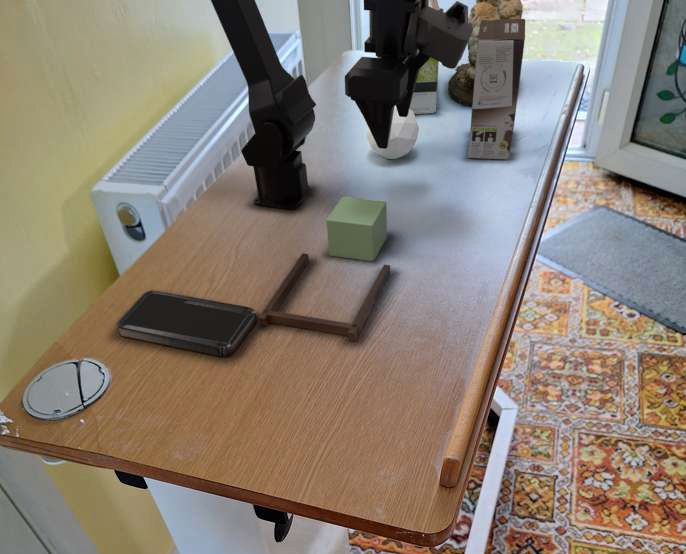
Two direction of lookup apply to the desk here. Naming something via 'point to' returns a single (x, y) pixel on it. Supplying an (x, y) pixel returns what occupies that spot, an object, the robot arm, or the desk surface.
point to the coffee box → (496, 87)
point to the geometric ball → (398, 136)
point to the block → (357, 228)
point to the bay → (315, 323)
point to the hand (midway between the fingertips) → (393, 131)
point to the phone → (187, 322)
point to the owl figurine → (490, 5)
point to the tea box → (426, 83)
